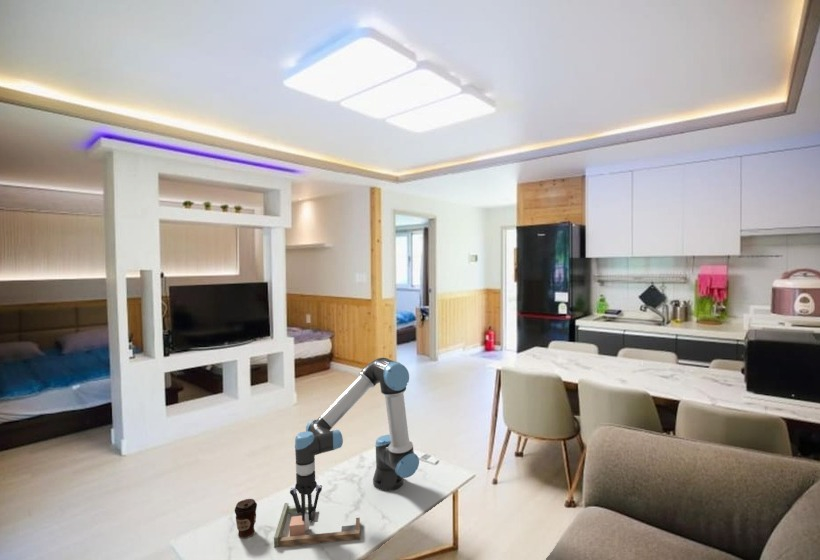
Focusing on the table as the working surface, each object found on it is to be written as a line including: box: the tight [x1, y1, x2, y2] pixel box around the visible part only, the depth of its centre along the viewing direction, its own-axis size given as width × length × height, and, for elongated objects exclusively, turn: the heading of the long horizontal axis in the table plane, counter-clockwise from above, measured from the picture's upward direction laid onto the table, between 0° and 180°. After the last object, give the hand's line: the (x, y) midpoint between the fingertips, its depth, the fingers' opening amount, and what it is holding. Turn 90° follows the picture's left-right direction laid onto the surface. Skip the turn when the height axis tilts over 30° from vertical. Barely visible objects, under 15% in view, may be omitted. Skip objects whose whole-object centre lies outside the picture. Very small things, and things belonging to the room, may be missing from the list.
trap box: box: [273, 502, 361, 548], centre depth 173 cm, size 33×23×4 cm
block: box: [288, 515, 307, 537], centre depth 168 cm, size 6×6×5 cm
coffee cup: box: [234, 498, 258, 539], centre depth 167 cm, size 9×8×13 cm
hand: (307, 527), depth 168 cm, fingers closed
